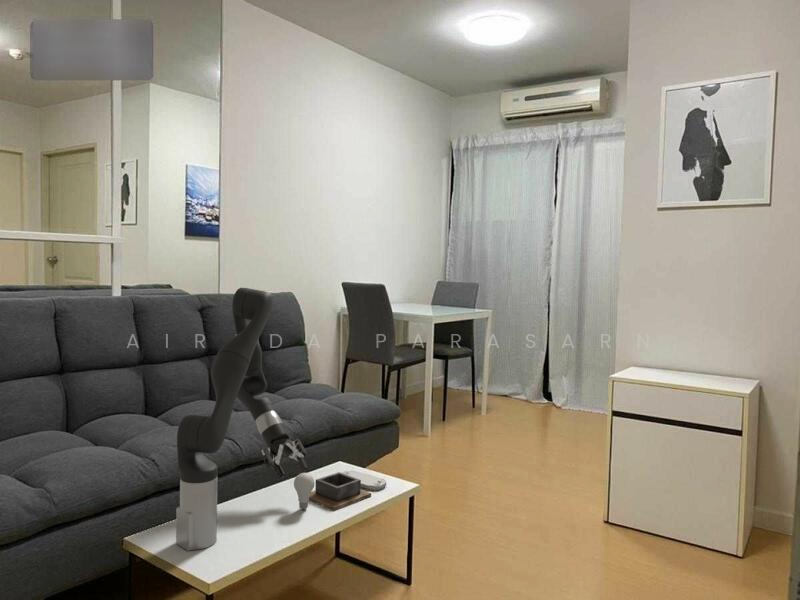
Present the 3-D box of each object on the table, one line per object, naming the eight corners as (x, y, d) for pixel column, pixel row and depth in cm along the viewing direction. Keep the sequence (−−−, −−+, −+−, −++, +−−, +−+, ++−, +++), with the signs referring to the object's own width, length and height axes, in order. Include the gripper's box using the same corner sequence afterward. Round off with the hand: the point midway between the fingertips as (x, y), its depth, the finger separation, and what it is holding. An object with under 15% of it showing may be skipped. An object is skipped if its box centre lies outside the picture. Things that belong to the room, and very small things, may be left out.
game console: (390, 479, 204) (376, 486, 197) (390, 486, 204) (376, 493, 197) (348, 468, 214) (333, 474, 207) (347, 474, 214) (333, 481, 207)
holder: (334, 510, 182) (334, 492, 182) (303, 497, 191) (304, 480, 191) (371, 496, 194) (371, 479, 194) (340, 484, 203) (341, 468, 203)
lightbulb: (288, 510, 181) (289, 474, 180) (301, 503, 186) (302, 468, 185) (305, 515, 178) (306, 478, 177) (317, 508, 183) (318, 472, 183)
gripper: (258, 426, 184) (281, 473, 177) (295, 418, 195) (318, 462, 188) (247, 440, 188) (269, 486, 181) (284, 431, 198) (306, 474, 192)
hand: (294, 473), depth 184 cm, fingers open, 8 cm apart
